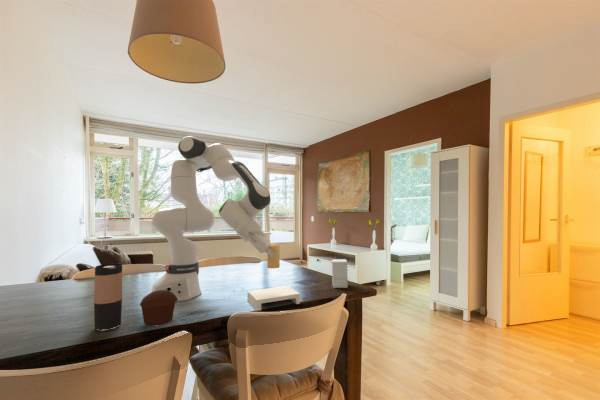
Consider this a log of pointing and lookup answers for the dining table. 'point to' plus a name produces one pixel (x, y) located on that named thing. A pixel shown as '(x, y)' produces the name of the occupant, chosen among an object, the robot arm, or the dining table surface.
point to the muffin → (158, 307)
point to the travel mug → (108, 296)
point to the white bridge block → (272, 296)
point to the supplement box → (339, 273)
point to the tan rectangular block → (274, 261)
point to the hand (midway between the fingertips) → (274, 255)
